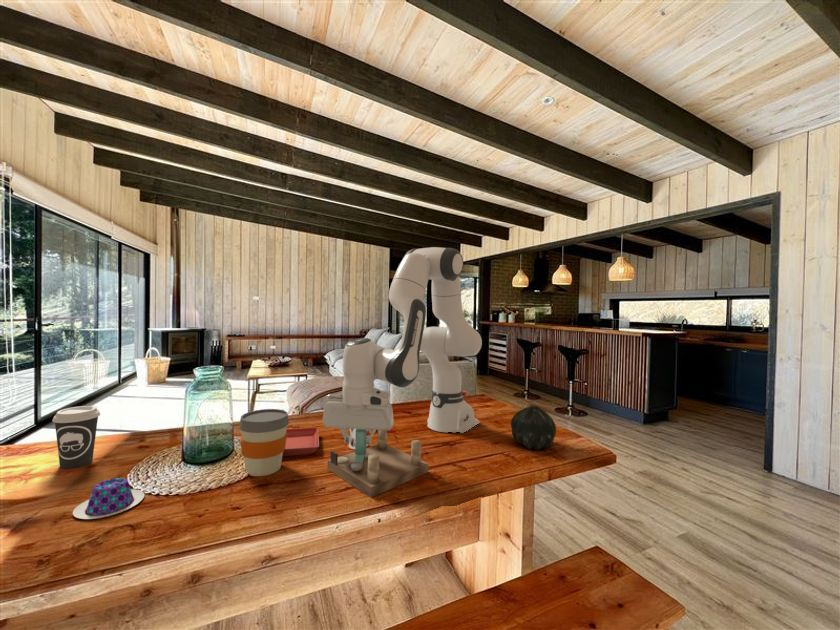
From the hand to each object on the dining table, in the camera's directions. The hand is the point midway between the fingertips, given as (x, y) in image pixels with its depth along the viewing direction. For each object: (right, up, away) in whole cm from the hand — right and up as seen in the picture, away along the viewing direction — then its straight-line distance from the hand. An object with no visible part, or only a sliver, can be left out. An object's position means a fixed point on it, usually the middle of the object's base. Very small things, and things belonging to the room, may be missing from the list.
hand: (358, 442), depth 101 cm
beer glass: (-2, -7, +15) cm, 16 cm away
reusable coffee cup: (-26, -6, -3) cm, 27 cm away
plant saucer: (-24, -6, +13) cm, 28 cm away
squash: (+57, -8, +20) cm, 61 cm away
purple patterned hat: (-51, -6, -23) cm, 56 cm away
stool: (+6, -7, -2) cm, 9 cm away
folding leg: (+1, -4, -4) cm, 6 cm away
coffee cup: (-77, -5, -4) cm, 78 cm away
